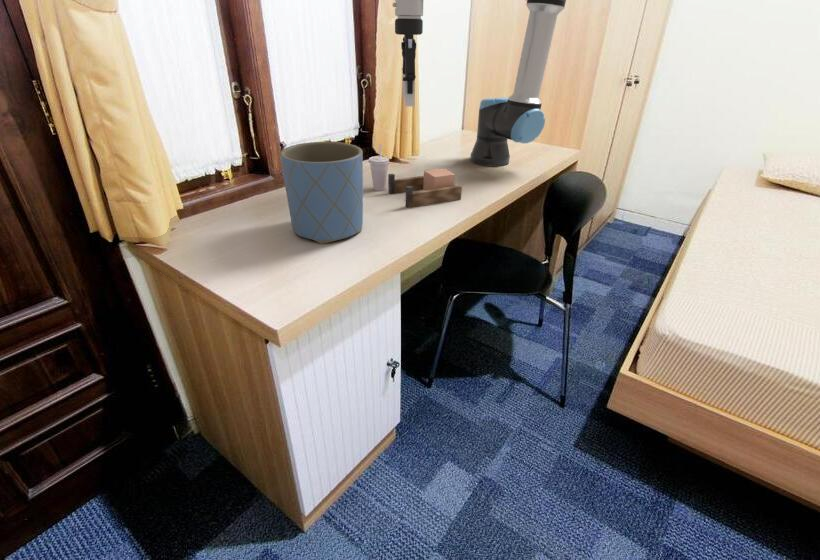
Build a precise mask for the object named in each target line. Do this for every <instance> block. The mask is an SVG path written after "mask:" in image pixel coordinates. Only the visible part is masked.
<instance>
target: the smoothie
mask: <svg viewBox="0 0 820 560" xmlns="http://www.w3.org/2000/svg"><path fill="white" fill-rule="evenodd" d="M368 163H369V166H370V172H371V178H372V179H371V180H372V187H373V190H374V191H379V192H383V191H385V190H386V185H387V177H388V168H389V167H388V166H389V163H390V158H389V157H387V156H383V155H382V144H379V155H376V156H374V155H373V156H371V157H369V158H368Z"/></svg>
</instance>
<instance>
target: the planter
mask: <svg viewBox="0 0 820 560" xmlns="http://www.w3.org/2000/svg"><path fill="white" fill-rule="evenodd" d="M363 153H364V151H363V149H362V148H361V147H360V146H357V145H355V144H351V143H347V142H340V141H339V142H338V141H311V142H304V143H299V144H298V143H297V144H294V145H293V144H292V145H290V146H287V147H285V148H283V149H281V151H280V152H279V158H280V164H281V170H282V176H283V181H284V189H285V194H286V200H287V204H288V211H289V216H290V222H291V227H292V230H293V232H294V233H295V235H298V236H300V237H301V238H305V239H309V240H313V241H315V242H317V243H318V244H320V245H324V244H327V243H331V242H335V241H338V240H339V241H340V240H344V239H347V238H349V237H351V236H354V235H356V234H358V233H360V232H361V231H362V230H363V219H364V212H363V211H364V209H363V207H364V206H363V204H364V203H363V202H364V201H363V198H364V197H363V195H364V194H363V193H364V192H363V191H364V189H363V188H364V185H363V184H364V175H363V174H364V172H363V170H364V169H363V166H364V165H363V164H364V163H363V160H364V159H363V157H364V156H363Z"/></svg>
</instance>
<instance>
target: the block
mask: <svg viewBox="0 0 820 560" xmlns="http://www.w3.org/2000/svg"><path fill="white" fill-rule="evenodd" d="M423 176H424V183H423V190H422V191H424V190H431V189H437V188H444V187H451V186H455V179H456V174H455V173H454V172H452V171H450V170H448V169H446V168H444V167H441V168H433V169H426V170H423Z"/></svg>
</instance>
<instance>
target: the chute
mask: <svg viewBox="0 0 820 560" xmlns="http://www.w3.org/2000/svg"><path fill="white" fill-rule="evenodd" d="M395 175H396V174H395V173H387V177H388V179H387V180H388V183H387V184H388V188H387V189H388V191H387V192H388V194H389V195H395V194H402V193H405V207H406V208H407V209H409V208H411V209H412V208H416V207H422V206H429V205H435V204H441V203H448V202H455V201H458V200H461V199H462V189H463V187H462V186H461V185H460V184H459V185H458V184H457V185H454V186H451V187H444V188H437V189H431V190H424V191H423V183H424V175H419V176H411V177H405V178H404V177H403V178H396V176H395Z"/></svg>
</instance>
